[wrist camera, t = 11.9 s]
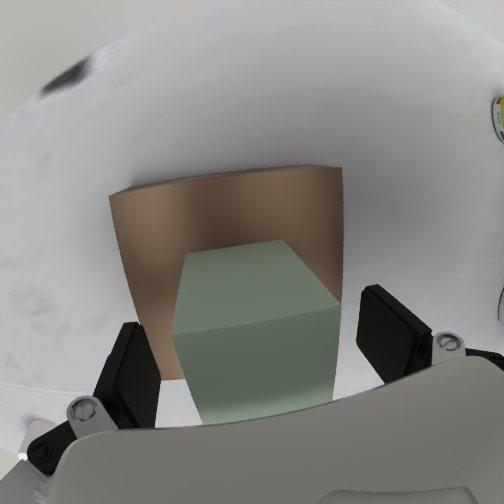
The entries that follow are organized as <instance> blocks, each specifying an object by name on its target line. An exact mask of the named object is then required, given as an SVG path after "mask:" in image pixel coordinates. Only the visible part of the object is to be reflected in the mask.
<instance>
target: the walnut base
mask: <svg viewBox="0 0 504 504" xmlns="http://www.w3.org/2000/svg"><path fill="white" fill-rule="evenodd" d="M109 201H110V207H111V212H112V218H113V223H114V228H115V232H116V237H117V242H118V246H119V250H120V255H121V259H122V263H123V267H124V271H125V274H126V278H127V282H128V285H129V289H130V292H131V296H132V299H133V303H134V306H135V309H136V312H137V315H138V318H139V322H140V325H143V327H144V329H145V332H146V335H147V338H148V341H149V344H150V347H151V350H152V352H153V355H154V358H155V360H156V363H157V366H158V368H159V371H160V374H161V381H164V380H177V379H185V376H184V373H183V370H182V367H181V365H180V362H179V359H178V356H177V353H176V350H175V347H174V343H173V340H172V337H171V330H172V324H173V318H174V312H175V306H176V301H177V296H178V290H179V285H180V280H181V275H182V270H183V265H184V260H185V255H186V254H187V253H194V252H200V251H207V250H213V249H220V248H227V247H234V246H240V245H247V244H254V243H261V242H267V241H274V240H281V239H283V240H284V241H285V242H286V244H287V245H288V246H289V247H290V248H291V249H292V250H293V251H294V252H295V253H296V255H297V256H298V257H299V258H300V259H301V260H302V261H303V262H304V263H305V264H306V266H307V267H308V268H309V269H310V270H311V271H312V272H313V273H314V275H315V276H316V277H317V278H318V279H319V280H320V281H321V282H322V284H323V285H324V286H325V287H326V288H327V289H328V290H329V291H330V293H331V294H332V295H333V296H334V297H335V298H336V299H337V301H338V302H339V303H340V304H341V298H342V278H343V182H342V168H341V167H331V166H320V165H306V166H290V167H277V168H265V169H254V170H244V171H235V172H226V173H218V174H210V175H203V176H196V177H189V178H182V179H176V180H170V181H164V182H158V183H152V184H147V185H141V186H136V187H131V188H128V189H125V190H122V191H120V192H117V193H115V194H112V195H110V196H109Z"/></svg>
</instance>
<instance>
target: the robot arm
mask: <svg viewBox="0 0 504 504" xmlns="http://www.w3.org/2000/svg"><path fill="white" fill-rule="evenodd" d="M499 320H500V322H501V323H502V324H504V291H503V294H502V297H501V302H500V306H499ZM431 333H432V330H431V329H430V328H429V327H428V326H427V325H426V324H425V323H424V322H422V321H421V320H420V319H419V318H418V317H417V316H416V315H414V314H413V313H412V312H411V311H410V310H409V309H407V308H406V307H405V306H404V305H403V304H402V303H400V302H399V301H398V300H397V299H396V298H394V297H393V296H392V295H391V294H390V293H388V292H387V291H386V290H385V289H384V288H382V287H381V286H380V285H378V284H375V285H370V286H366V287H365V289H364V290H363V291H362V293H361V302H360V312H359V321H358V329H357V337H356V343H357V346H358V348H359V349H360V350H361V352H362V353H363V354H364V356H365V357H366V358H367V360H368V361H369V362H370V364H371V365H372V367H373V368H374V369H375V371H376V372H377V373H378V375H379V376H380V378H381V379H382V380H383V382H384V383H385V384H384V385H381V386H378V387H375V388H373V389H370V390H367V391H364V392H361V393H358V394H355V395H351V396H348V397H345V398H342V399H338V400H335V401H331V402H328V403H324V404H320V405H316V406H312V407H308V408H304V409H300V410H295V411H291V412H286V413H282V414H277V415H271V416H266V417H260V418H254V419H248V420H241V421H234V422H227V423H218V424H208V425H197V426H183V427H165V428H155V420H156V413H157V405H158V398H159V391H160V384H161V374H160V371H159V368H158V366H157V363H156V360H155V358H154V355H153V352H152V350H151V347H150V344H149V341H148V338H147V335H146V332H145V329H144V327H143V325H139V323H138V322H127V323H124V324H123V326H122V328H121V330H120V333H119V335H118V337H117V340H116V342H115V344H114V347H113V349H112V351H111V354H110V355H109V356H108V358H107V360H106V362H105V365H104V367H103V370H102V372H101V375H100V377H99V380H98V382H97V385H96V388H95V390H94V393H93V396H88V395H87V396H81V397H79V398H76V399H75V400H73V401H72V402H71V403H70V404H69V406H68V408H67V413H66V414H67V418H68V420H67V421H65V422H64V423H62V424H60V425H59V426H57V427H55V428H53V429H52V430H50V431H48V432H46V433H45V434H43V435H41V436H39V437H38V438H36V439H34V440H33V441H32V442H31V443H30V444H29V446H28V448H27V458H28V459H27V460H26V461H25V460H24V459H23V458H22V459H21V460H20V461H19V462H18V463H17V465H16V466H15V467H13V468H12V469H11V471H9V473H8V474H6V475H5V476H4V478H3V479H2V480H1V481H0V503H1V504H504V357H503V356H502V355H501V354H499V353H495V352H488V351H481V350H475V349H468V348H465V344H464V341H463V339H462V338H461V337H460V336H458V335H457V334H455V333H452V332H440V333H438V334H436V335H435V336H434V337H433V336H432V335H431Z"/></svg>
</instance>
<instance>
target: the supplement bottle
mask: <svg viewBox="0 0 504 504" xmlns="http://www.w3.org/2000/svg"><path fill="white" fill-rule="evenodd" d="M493 120H494V125H495V128H496V131H497V134H498V136H499V137H500V139H501V140H502V141H503V142H504V97H500V98H497V99H496V100H495V102H494V104H493Z"/></svg>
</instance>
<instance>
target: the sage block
mask: <svg viewBox="0 0 504 504" xmlns="http://www.w3.org/2000/svg"><path fill="white" fill-rule="evenodd" d="M340 319H341V304H340V303H339V302H338V301H337V299H336V298H335V297H334V296H333V295H332V294H331V293H330V291H329V290H328V289H327V288H326V287H325V286H324V285H323V284H322V282H321V281H320V280H319V279H318V278H317V277H316V276H315V275H314V273H313V272H312V271H311V270H310V269H309V268H308V267H307V266H306V264H305V263H304V262H303V261H302V260H301V259H300V258H299V257H298V256H297V255H296V253H295V252H294V251H293V250H292V249H291V248H290V247H289V246H288V245H287V244H286V242H285V241H284V240H283V239H281V240H274V241H267V242H261V243H254V244H247V245H240V246H234V247H227V248H220V249H213V250H207V251H200V252H194V253H187V254H186V255H185V260H184V265H183V270H182V275H181V280H180V285H179V290H178V296H177V301H176V306H175V312H174V318H173V324H172V330H171V337H172V340H173V343H174V347H175V350H176V353H177V356H178V359H179V362H180V365H181V367H182V370H183V373H184V376H185V379H186V382H187V384H188V387H189V390H190V392H191V395H192V398H193V400H194V403H195V405H196V408H197V410H198V413H199V415H200V418H201V420H202V422H203V425H208V424H218V423H227V422H234V421H241V420H248V419H254V418H260V417H266V416H271V415H277V414H282V413H286V412H291V411H295V410H300V409H304V408H308V407H312V406H316V405H320V404H324V403H328V402H331V401H332V398H333V390H334V382H335V374H336V365H337V355H338V345H339V333H340Z"/></svg>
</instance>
